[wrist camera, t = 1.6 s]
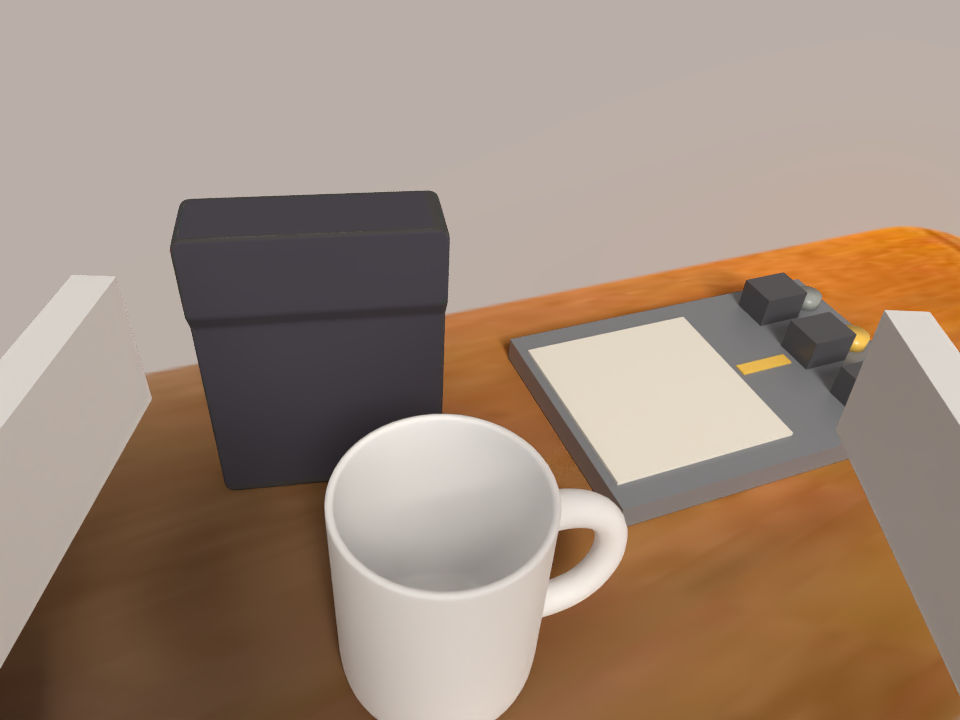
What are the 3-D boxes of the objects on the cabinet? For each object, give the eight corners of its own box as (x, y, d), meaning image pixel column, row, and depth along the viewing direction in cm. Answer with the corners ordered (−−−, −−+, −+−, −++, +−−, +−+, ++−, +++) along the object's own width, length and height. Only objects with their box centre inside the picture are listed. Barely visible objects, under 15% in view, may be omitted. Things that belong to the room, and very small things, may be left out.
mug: (574, 540, 39) (608, 386, 33) (642, 699, 33) (700, 549, 27) (329, 587, 37) (311, 429, 30) (355, 769, 31) (340, 622, 24)
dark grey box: (431, 423, 45) (436, 180, 36) (442, 480, 42) (450, 229, 32) (230, 440, 43) (178, 189, 34) (225, 501, 40) (166, 241, 30)
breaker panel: (618, 529, 40) (630, 483, 38) (508, 357, 50) (513, 313, 47) (943, 429, 47) (970, 385, 45) (791, 296, 57) (807, 254, 54)
